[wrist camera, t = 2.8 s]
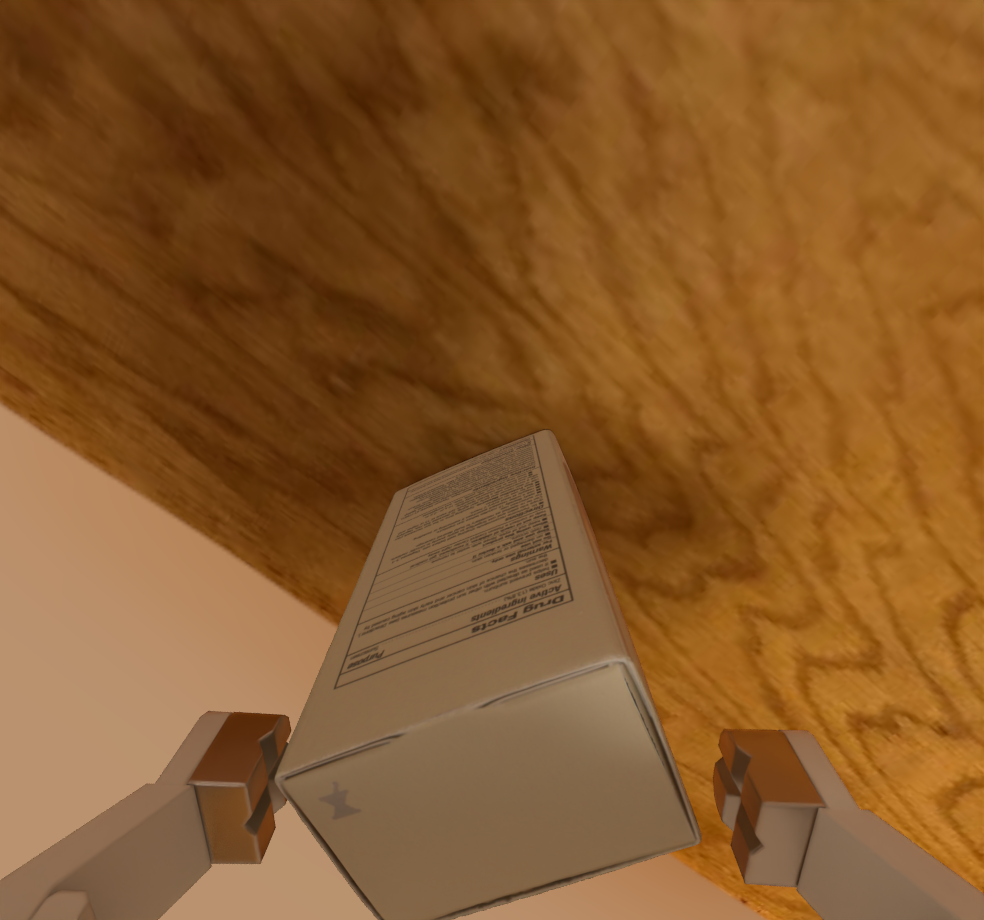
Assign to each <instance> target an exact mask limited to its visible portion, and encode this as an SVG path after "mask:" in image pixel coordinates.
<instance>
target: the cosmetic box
mask: <svg viewBox="0 0 984 920" xmlns="http://www.w3.org/2000/svg"><path fill="white" fill-rule="evenodd" d="M275 783H276V785H277V786H278V788H279V790H280V791H281V793H282V794H283V795H284V796H285V798H286V799H287V800H288V801H289V802H290V804H291V805H292V806H293V807H294V808H295V810H296V812H297V814H298V815H299V817H300V818H301V820H302V821H303V822H304V823H305V825H306V826H307V828H308V829H309V830H310V832H311V833H312V835H313V836H314V838H315V839H316V840H317V842H318V843H319V844H320V846H321V847H322V848H323V850H324V851H325V852H326V854H327V855H328V856H329V858H330V859H331V860H332V862H333V863H334V865H335V866H336V867H337V869H338V870H339V872H340V873H341V874H342V875H343V877H344V878H345V880H346V881H347V882H348V884H349V885H350V886H351V888H352V889H353V890H354V892H355V893H356V894H357V895H358V897H359V898H360V899H361V901H362V902H363V903H364V904H365V905H366V907H368V909H369V910H370V911H371V912H372V913H373V915H374V916H375V917H376V918H377V919H378V920H451V919H455V918H457V917H459V916H466V915H469V914H472V913H476V912H478V911H484V910H487V909H490V908H492V907H496V906H500V905H503V904H507V903H511V902H513V901H515V900H519V899H522V898H526V897H530V896H534V895H538V894H541V893H543V892H546V891H549V890H553V889H556V888H560V887H564V886H567V885H570V884H573V883H576V882H579V881H583V880H585V879H590V878H593V877H595V876H598V875H602V874H605V873H609V872H612V871H615V870H618V869H622V868H625V867H627V866H630V865H633V864H636V863H639V862H643V861H647V860H649V859H652V858H655V857H658V856H660V855H665V854H668V853H671V852H674V851H677V850H680V849H684V848H687V847H691V846H694V845H697V844H699V843H700V841H701V832H700V829H699V826H698V823H697V820H696V817H695V815H694V812H693V809H692V806H691V804H690V801H689V798H688V795H687V793H686V790H685V787H684V784H683V782H682V779H681V776H680V773H679V771H678V768H677V765H676V762H675V760H674V757H673V754H672V751H671V749H670V746H669V743H668V741H667V738H666V735H665V732H664V729H663V727H662V724H661V721H660V718H659V715H658V712H657V710H656V707H655V704H654V701H653V698H652V695H651V692H650V690H649V687H648V684H647V681H646V678H645V675H644V672H643V670H642V667H641V664H640V661H639V658H638V655H637V653H636V650H635V647H634V644H633V642H632V639H631V636H630V633H629V630H628V628H627V625H626V622H625V619H624V616H623V614H622V611H621V608H620V605H619V602H618V600H617V597H616V594H615V591H614V589H613V586H612V583H611V580H610V577H609V575H608V572H607V569H606V566H605V563H604V560H603V557H602V555H601V552H600V549H599V546H598V543H597V541H596V538H595V535H594V532H593V529H592V527H591V524H590V521H589V519H588V516H587V513H586V511H585V508H584V506H583V503H582V500H581V498H580V495H579V493H578V490H577V487H576V485H575V482H574V480H573V477H572V475H571V472H570V470H569V467H568V465H567V463H566V460H565V458H564V455H563V453H562V451H561V449H560V446H559V444H558V442H557V439H556V437H555V435H554V433H553V432H552V431H550V430H542V431H539V432H537V433H534V434H532V435H529V436H526V437H524V438H521V439H518V440H516V441H513V442H511V443H508V444H505V445H503V446H501V447H498V448H495V449H493V450H491V451H488V452H486V453H483V454H481V455H478V456H476V457H474V458H471V459H469V460H467V461H464V462H462V463H459V464H457V465H455V466H452V467H450V468H448V469H445V470H443V471H441V472H439V473H436V474H434V475H432V476H430V477H427V478H425V479H423V480H421V481H419V482H416V483H414V484H412V485H410V486H408V487H406V488H403V489H401V490H399V491H397V492H396V493H395V494H394V496H393V499H392V501H391V503H390V506H389V508H388V510H387V513H386V515H385V517H384V520H383V522H382V525H381V527H380V529H379V532H378V534H377V536H376V539H375V541H374V544H373V546H372V548H371V551H370V553H369V555H368V558H367V560H366V562H365V565H364V567H363V569H362V572H361V574H360V577H359V579H358V582H357V584H356V586H355V589H354V591H353V593H352V596H351V598H350V600H349V603H348V605H347V607H346V610H345V612H344V614H343V617H342V619H341V621H340V624H339V626H338V629H337V631H336V633H335V635H334V638H333V641H332V643H331V645H330V647H329V649H328V651H327V654H326V657H325V660H324V662H323V664H322V666H321V669H320V671H319V673H318V676H317V678H316V680H315V683H314V685H313V688H312V690H311V693H310V695H309V698H308V700H307V702H306V704H305V707H304V709H303V711H302V714H301V716H300V718H299V721H298V723H297V726H296V728H295V730H294V732H293V735H292V737H291V739H290V741H289V744H288V746H287V748H286V751H285V753H284V756H283V758H282V760H281V763H280V765H279V767H278V770H277V773H276V776H275Z"/></svg>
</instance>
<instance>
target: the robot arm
mask: <svg viewBox="0 0 984 920" xmlns="http://www.w3.org/2000/svg"><path fill="white" fill-rule="evenodd" d="M290 732H291V727H290V722H289V717H287V716H285V715H277V714H260V713H243V712H234V713H232V712H215V711H208V712H206V713H205V714H204V715H202V716H201V717H200V718H199V720H198V721H197V723H196V724H195V726H194V727H193V728H192V730H191V732H190V733H189V734H188V736H187V737H186V739H185V740H184V742H183V743H182V745H181V746H180V748H179V749H178V751H177V752H176V754H175V755H174V756H173V758H172V759H171V761H170V762H169V764H168V765H167V767H166V768H165V770H164V771H163V773H162V774H161V775H160V777H159V779H158V780H157V781H156V783H155V784H145V785H144V786H142V787H141V788H139V789H138V790H136V791H135V792H133V793H132V794H130V795H129V796H127V797H126V798H124V799H123V800H121V801H120V802H118V803H117V804H115V805H114V806H112V807H111V808H109V809H108V810H106V811H104V812H103V813H101V814H100V815H98V816H97V817H95V818H94V819H92V820H91V821H89V822H88V823H86V824H85V825H83V826H82V827H80V828H79V829H77V830H76V831H74V832H73V833H71V834H70V835H68V836H67V837H65V838H64V839H62V840H60V841H59V842H57V843H56V844H54V845H53V846H51V847H50V848H48V849H47V850H45V851H44V852H42V853H41V854H39V855H38V856H36V857H35V858H33V859H32V860H30V861H29V862H27V863H26V864H24V865H23V866H21V867H20V868H18V869H16V870H15V871H13V872H12V873H10V874H9V875H7V876H6V877H4V878H3V879H1V880H0V920H158V919H159V918H160V917H161V916H162V915H163V914H164V913H165V912H166V911H167V910H168V909H169V908H170V907H171V906H172V905H173V904H174V903H175V902H176V901H177V900H178V899H179V898H181V897H182V895H183V894H185V892H187V890H189V889H190V888H191V887H192V886H193V885H194V884H195V883H196V882H197V881H198V880H199V879H200V878H201V877H202V876H203V875H204V874H205V873H206V872H207V871H208V870H209V869H210V868H211V866H212V865H211V864H261V861H262V859H263V856H264V854H265V852H266V849H267V847H268V845H269V842H270V840H271V837H272V835H273V833H274V830H275V828H276V827H275V821H274V813H276V812H277V811H278V810H279V809H281V808H282V807H283V806H284V805H285V804H286V801H287V799H286V798H285V796H284V795H283V794H282V793H281V791H280V790H279V788H278V786H277V785H276V783H275V776H276V773H277V770H278V767H279V765H280V763H281V760H282V758H283V756H284V753H285V751H286V748H287V746H288V743H287V742H286V741H287V739H288V737H289V735H290ZM718 745H719V748H720V750H721V753H722V755H723V757H722V758H721V759H720V760H719V761H717V762H716V763H715V767H714V775H713V785H714V796H715V800H716V805H717V808H718V811H719V814H720V817H721V820H722V822H724V823H725V824H726V825H727V826H728V827H729V828H730V829H731V830H732V831H733V836H732V841H731V847H732V850H733V853H734V855H735V858H736V861H737V863H738V866H739V869H740V871H741V874H742V877H743V879H744V882H745V884H756V885H770V886H784V887H797V891H798V892H799V894H800V895H801V896H802V897H803V898H804V899H805V900H806V901H807V902H808V903H809V904H810V906H811V907H812V908H813V909H814V910H815V911H816V912H817V913H818V914H819V915H820V916H821V917H822V919H823V920H984V894H983V893H982V892H981V891H979V890H978V889H976V888H975V887H974V886H972V885H971V884H970V883H968V882H967V881H965V880H964V879H963V878H961V877H960V876H959V875H957V874H956V873H955V872H953V871H952V870H950V869H949V868H948V867H946V866H945V865H944V864H942V863H941V862H939V861H938V860H937V859H935V858H934V857H933V856H931V855H930V854H928V853H927V852H926V851H924V850H923V849H922V848H920V847H919V846H918V845H916V844H915V843H913V842H912V841H911V840H909V839H908V838H907V837H905V836H904V835H902V834H901V833H900V832H898V831H897V830H896V829H894V828H893V827H892V826H890V825H889V824H887V823H886V822H885V821H883V820H882V819H881V818H879V817H878V816H876V815H875V814H874V813H872V812H871V811H870V810H860V808H859V807H858V805H857V804H856V802H855V801H854V799H853V797H852V796H851V794H850V793H849V791H848V790H847V788H846V786H845V785H844V783H843V782H842V780H841V778H840V777H839V775H838V774H837V772H836V771H835V769H834V767H833V766H832V764H831V763H830V761H829V759H828V758H827V756H826V755H825V753H824V752H823V750H822V748H821V747H820V745H819V744H818V742H817V741H816V739H815V737H814V736H813V735H812V734H811V733H810V732H809V731H807V730H779V731H777V730H755V729H724V730H723V731H722V733H721V734H720V739H719V744H718Z"/></svg>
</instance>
